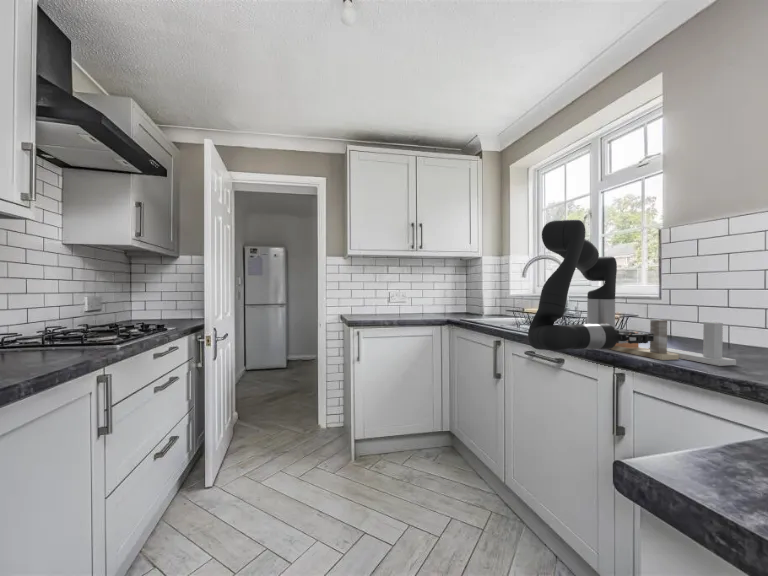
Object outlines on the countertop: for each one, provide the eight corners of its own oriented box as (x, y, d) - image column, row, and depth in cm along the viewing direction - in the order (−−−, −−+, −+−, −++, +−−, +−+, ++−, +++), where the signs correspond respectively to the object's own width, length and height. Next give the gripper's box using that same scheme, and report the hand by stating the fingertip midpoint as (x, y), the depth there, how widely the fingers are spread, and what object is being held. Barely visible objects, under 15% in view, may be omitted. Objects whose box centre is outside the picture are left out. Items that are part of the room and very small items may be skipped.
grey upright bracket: (648, 352, 128) (648, 317, 128) (663, 351, 130) (663, 317, 130) (719, 365, 107) (719, 324, 107) (736, 365, 108) (736, 323, 108)
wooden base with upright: (604, 348, 136) (605, 315, 136) (618, 347, 138) (619, 315, 138) (662, 360, 115) (662, 321, 115) (678, 359, 116) (679, 321, 116)
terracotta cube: (613, 345, 133) (614, 330, 133) (626, 344, 134) (626, 330, 134) (625, 347, 128) (626, 332, 128) (638, 347, 129) (638, 332, 129)
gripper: (614, 326, 107) (661, 325, 111) (577, 321, 121) (621, 320, 125) (614, 353, 107) (661, 351, 111) (577, 345, 121) (620, 344, 125)
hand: (640, 335), depth 118 cm, fingers open, 8 cm apart
